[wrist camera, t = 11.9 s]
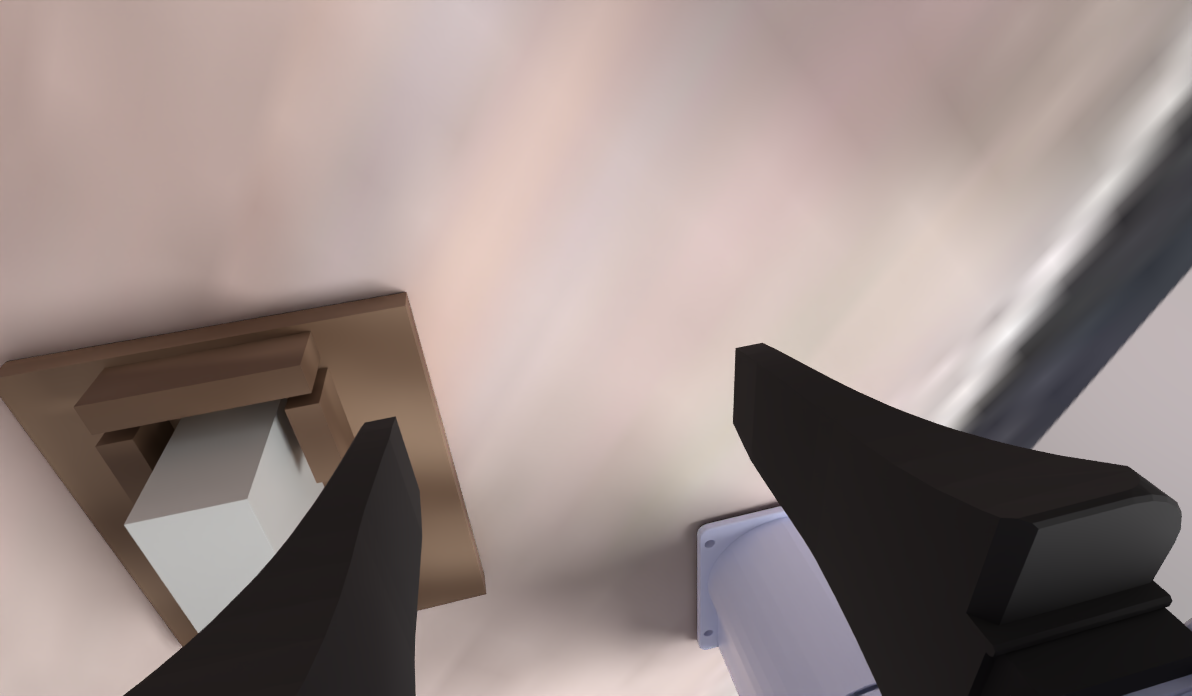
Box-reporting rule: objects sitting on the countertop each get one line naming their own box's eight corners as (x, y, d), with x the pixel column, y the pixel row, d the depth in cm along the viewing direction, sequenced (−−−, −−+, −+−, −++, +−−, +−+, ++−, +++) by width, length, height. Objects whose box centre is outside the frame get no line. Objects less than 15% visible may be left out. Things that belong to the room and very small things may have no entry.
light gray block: (367, 587, 26) (355, 706, 22) (291, 605, 26) (264, 729, 22) (283, 391, 21) (247, 499, 17) (186, 409, 20) (124, 524, 16)
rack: (484, 575, 29) (489, 634, 26) (202, 643, 27) (179, 712, 25) (406, 292, 21) (403, 336, 19) (6, 361, 19) (-56, 420, 17)
